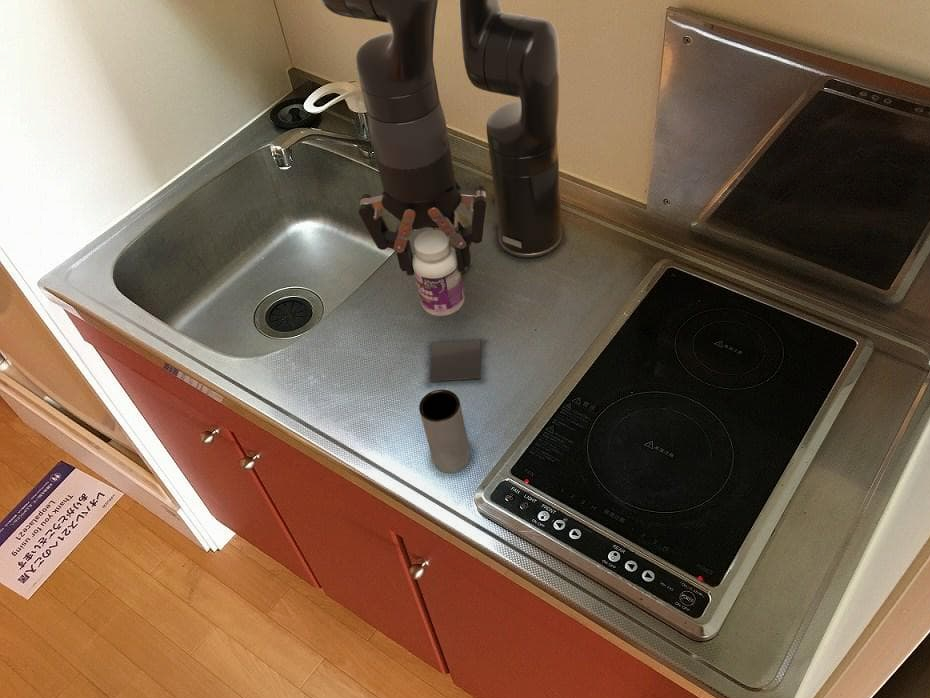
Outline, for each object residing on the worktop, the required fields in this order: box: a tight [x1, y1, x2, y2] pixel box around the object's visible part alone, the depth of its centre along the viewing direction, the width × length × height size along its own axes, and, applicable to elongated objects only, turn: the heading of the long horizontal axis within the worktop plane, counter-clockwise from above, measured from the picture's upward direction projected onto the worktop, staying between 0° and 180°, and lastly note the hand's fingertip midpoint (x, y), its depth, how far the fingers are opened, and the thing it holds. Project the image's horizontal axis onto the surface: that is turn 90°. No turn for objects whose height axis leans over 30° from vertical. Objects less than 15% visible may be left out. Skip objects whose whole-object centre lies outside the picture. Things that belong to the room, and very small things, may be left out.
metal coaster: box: [429, 339, 482, 383], centre depth 107 cm, size 6×6×1 cm
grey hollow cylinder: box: [418, 389, 472, 474], centre depth 94 cm, size 4×4×10 cm
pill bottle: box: [412, 229, 466, 317], centre depth 95 cm, size 5×5×10 cm
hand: (436, 268), depth 95 cm, fingers closed on pill bottle, 5 cm apart
